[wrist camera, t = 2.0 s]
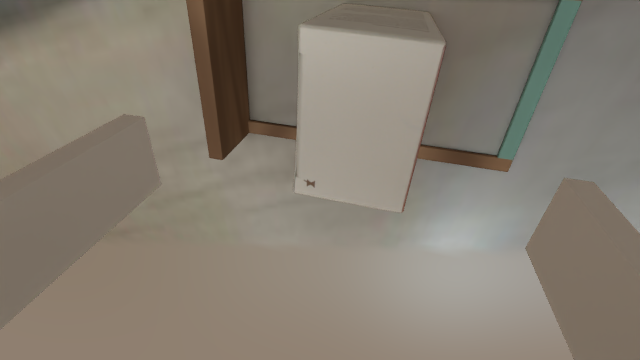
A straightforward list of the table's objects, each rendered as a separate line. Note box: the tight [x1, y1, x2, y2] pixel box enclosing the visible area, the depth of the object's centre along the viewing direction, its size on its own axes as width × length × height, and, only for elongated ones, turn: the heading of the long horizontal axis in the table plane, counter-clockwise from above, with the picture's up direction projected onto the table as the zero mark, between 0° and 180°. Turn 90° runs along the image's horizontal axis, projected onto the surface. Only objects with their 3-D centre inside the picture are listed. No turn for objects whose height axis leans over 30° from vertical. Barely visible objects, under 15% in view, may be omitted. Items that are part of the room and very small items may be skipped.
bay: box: [186, 0, 582, 172], centre depth 21 cm, size 21×12×5 cm, turn 86°
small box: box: [293, 4, 447, 213], centre depth 18 cm, size 8×6×10 cm
